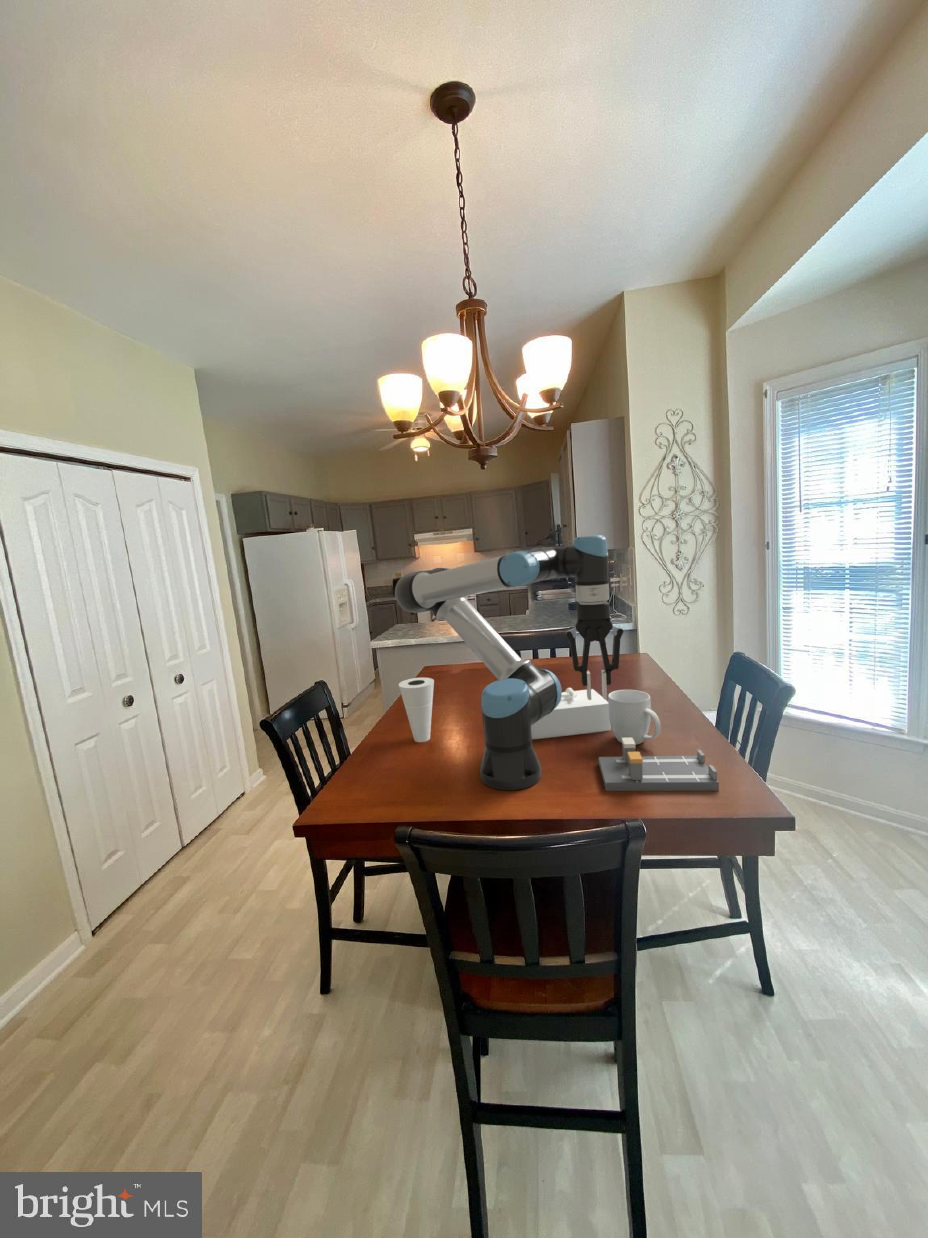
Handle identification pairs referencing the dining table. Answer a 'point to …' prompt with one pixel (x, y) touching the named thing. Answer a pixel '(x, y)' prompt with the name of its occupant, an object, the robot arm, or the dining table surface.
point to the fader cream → (627, 747)
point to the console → (660, 774)
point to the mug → (632, 715)
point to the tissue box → (574, 716)
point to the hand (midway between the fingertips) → (596, 697)
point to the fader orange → (635, 765)
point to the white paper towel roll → (418, 705)
